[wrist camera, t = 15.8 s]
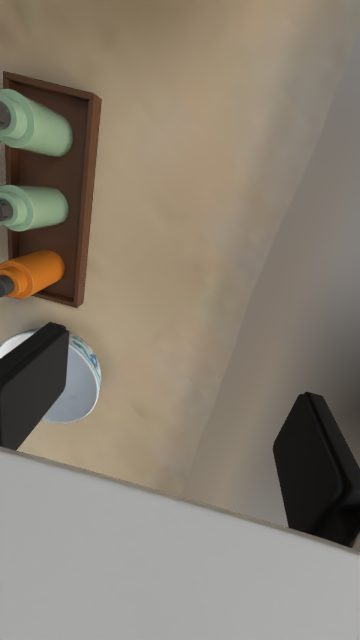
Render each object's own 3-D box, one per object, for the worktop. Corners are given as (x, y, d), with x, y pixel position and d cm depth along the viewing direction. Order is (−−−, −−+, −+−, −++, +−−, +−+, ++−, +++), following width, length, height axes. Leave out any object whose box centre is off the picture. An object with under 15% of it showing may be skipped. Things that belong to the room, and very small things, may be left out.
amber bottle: (34, 245, 39) (-26, 261, 29) (66, 254, 39) (16, 273, 29) (34, 277, 41) (-23, 301, 31) (64, 285, 41) (16, 312, 31)
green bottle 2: (35, 182, 36) (-33, 177, 26) (69, 191, 36) (14, 190, 26) (34, 220, 38) (-29, 228, 28) (67, 228, 37) (15, 240, 28)
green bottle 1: (35, 106, 32) (-42, 69, 23) (74, 116, 32) (12, 83, 23) (35, 152, 34) (-37, 135, 25) (71, 161, 34) (14, 148, 25)
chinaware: (65, 291, 42) (34, 311, 35) (135, 362, 45) (119, 392, 38) (11, 345, 47) (-26, 371, 40) (77, 404, 50) (54, 438, 43)
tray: (15, 77, 32) (2, 70, 30) (101, 99, 32) (94, 93, 30) (18, 285, 42) (9, 289, 41) (83, 303, 42) (77, 308, 40)
